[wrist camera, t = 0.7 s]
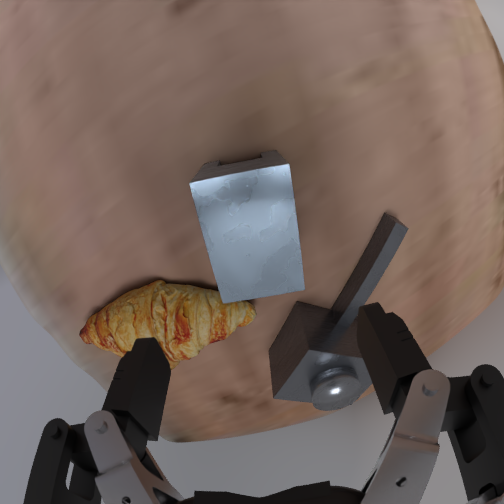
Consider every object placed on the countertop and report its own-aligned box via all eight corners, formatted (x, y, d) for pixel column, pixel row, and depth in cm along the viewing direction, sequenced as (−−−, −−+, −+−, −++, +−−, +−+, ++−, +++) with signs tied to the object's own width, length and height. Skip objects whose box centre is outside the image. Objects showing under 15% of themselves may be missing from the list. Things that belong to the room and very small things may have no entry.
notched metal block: (204, 163, 22) (189, 183, 16) (276, 149, 22) (289, 164, 16) (227, 257, 27) (222, 303, 20) (290, 246, 26) (304, 289, 20)
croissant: (247, 260, 31) (240, 262, 23) (267, 347, 31) (266, 376, 23) (89, 294, 32) (50, 302, 24) (109, 366, 32) (76, 389, 24)
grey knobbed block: (349, 196, 24) (395, 239, 16) (423, 232, 26) (473, 276, 18) (268, 351, 33) (274, 414, 25) (337, 362, 34) (354, 418, 26)
